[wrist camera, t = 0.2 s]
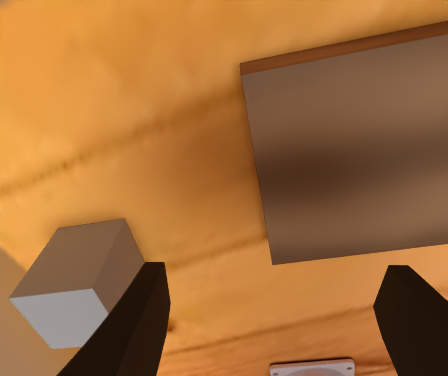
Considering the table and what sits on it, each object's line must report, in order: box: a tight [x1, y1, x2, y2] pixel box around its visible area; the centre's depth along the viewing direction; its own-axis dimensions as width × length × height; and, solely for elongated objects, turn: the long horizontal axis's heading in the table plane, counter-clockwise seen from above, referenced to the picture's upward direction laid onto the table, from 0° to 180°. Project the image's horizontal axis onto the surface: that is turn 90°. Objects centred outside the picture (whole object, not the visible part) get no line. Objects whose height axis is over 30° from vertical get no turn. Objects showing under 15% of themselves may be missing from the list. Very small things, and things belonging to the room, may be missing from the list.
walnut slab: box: [240, 21, 448, 265], centre depth 18 cm, size 12×12×3 cm
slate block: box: [9, 219, 145, 349], centre depth 21 cm, size 5×5×6 cm
